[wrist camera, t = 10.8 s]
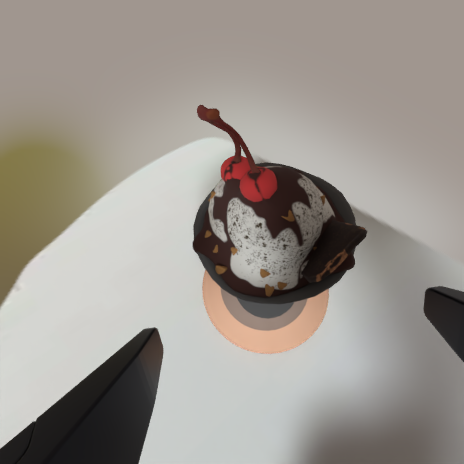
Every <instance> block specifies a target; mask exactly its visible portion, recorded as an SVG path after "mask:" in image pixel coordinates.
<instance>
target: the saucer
mask: <svg viewBox="0 0 464 464" xmlns="http://www.w3.org/2000/svg"><path fill="white" fill-rule="evenodd" d="M328 298H329V289H327V290H325V291H324V292H322V293H320V294H318V295H317V296H315V297H311V298H308V299H304V300H301V301H297V302H294V304H293V305H292V307H291V308H290V309H289V310H288V311H287V312H286V313H284V314H282V315H281V316H278V317H275V318H269V319H267V318H260V317H256V316H254V315H252V314H250V313H249V312H247V311H246V310H245V309H244V308H243V307H242V306H241V304H240V303H239V301H238V299H237V297H235V296H233V295H231V294H229V293H228V292H226V291H225V290H223V289H222V288H221V287H220V286H219V285H218V284H217V283H216V282H215V281H214V280H213V279H212V278H211V277H210V275H209V274H208V272H207V271H206V270H205V274H204V278H203V299H204V305H205V308H206V311H207V313H208V315H209V318H210V320H211V321H212V323H213V324H214V326H215V327H216V329H217V330H218V331H219V332H220V333H221V334H222V335H223V336H224V337H225V338H226V339H227V340H229V341H230V342H232V343H233V344H235V345H237V346H239V347H241V348H243V349H245V350H248V351H252V352H257V353H266V354H272V353H280V352H284V351H287V350H290V349H293V348H295V347H297V346H299V345H300V344H302V343H303V342H305V341H306V340H307V339H308V338H310V337H311V336H312V335H313V334H314V332H315V331H316V330H317V329H318V327H319V326H320V324H321V322H322V320H323V318H324V316H325V313H326V310H327V306H328Z"/></svg>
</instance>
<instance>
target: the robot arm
mask: <svg viewBox="0 0 464 464" xmlns="http://www.w3.org/2000/svg"><path fill="white" fill-rule="evenodd" d="M424 313H425V316H426V317H427V319H428V320H429V321H430V322H431V323H432V325H433V326H434V327H435V328H436V330H437V331H438V332H439V333H440V334H441V336H442V337H443V338H444V339H445V341H446V342H447V343H448V344H449V345H450V347H451V348H452V349H453V350H454V351H455V353H456V354H457V355H458V356H459V357H460V359H461V360H462V361H463V362H464V292H462V291H458V290H454V289H450V288H446V287H442V286H438V287H431V288H428V289H427V290H426V291H425V299H424ZM162 359H163V345H162V342H161V338H160V335H159V332H158V330H157V328H147V329H144V330H142V331H141V332H140V333H139V334H137V335H136V336H135V337H134V338H133V339H132V340H130V341H129V342H128V343H127V344H126V345H124V346H123V347H122V348H121V349H120V350H118V351H117V352H116V353H115V354H114V355H112V356H111V357H110V358H109V359H108V360H106V361H105V362H104V363H103V364H102V365H100V366H99V367H98V368H97V369H96V370H94V371H93V372H92V373H91V374H90V375H88V376H87V377H86V378H85V379H84V380H82V381H81V382H80V383H79V384H78V385H76V386H75V387H74V388H73V389H72V390H70V391H69V392H68V393H67V394H66V395H65V396H63V397H62V398H61V399H60V400H59V401H57V402H56V403H55V404H54V405H53V406H51V407H50V408H49V409H48V410H47V411H45V412H44V413H43V414H42V415H41V416H39V417H38V418H37V420H36V421H34V422H32V423H31V424H30V425H29V426H27V427H26V428H25V429H24V430H23V431H21V432H20V433H19V434H18V435H17V436H15V437H14V438H13V439H12V440H11V441H9V442H8V443H7V444H6V445H4V446H3V447H2V448H1V449H0V464H138V463H139V460H140V456H141V452H142V449H143V445H144V441H145V438H146V434H147V430H148V427H149V423H150V419H151V416H152V412H153V408H154V404H155V399H156V394H157V388H158V382H159V376H160V370H161V365H162Z"/></svg>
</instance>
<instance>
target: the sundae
mask: <svg viewBox="0 0 464 464" xmlns="http://www.w3.org/2000/svg"><path fill="white" fill-rule="evenodd" d="M197 113H198V116H199V118H200V119H201V120H204V121H207V122H209V123H210V124H212V125H214V126H216V127H218V128H220V129H222V130H224V131H226V132H227V133H228V134H229V135H230V137H231V138H232V140H233V142H234V144H235V156H232V157H230V158H228V159H227V160H225V161H224V163H223V164H222V166H221V177H222V179H221V180H220V182H219V183H218V184H217V185H216V187H215V188H214V189H213V190H212V191H211V193H210V194H209V195H208V196H207V197H206V199H205V200H204V202H203V203H202V204H201V206H200V208H199V210H198V212H197V215H196V219H195V222H194V241H193V249H194V251H195V252H196V253H197V254H198V256H199V258H200V260H201V262H202V264H203V266H204V268H205V269H206V271H207V272H208V274H209V275H210V277H211V278H212V279H213V280H214V281H215V282H216V283H217V284H218V285H219V286H220V287H221V288H222V289H223V290H225V291H226V292H228V293H229V294H231V295H233V296H235V297H237V299H238V301H239V303H240V304H241V306H242V307H243V308H244V309H245V310H246V311H247V312H249V313H250V314H252V315H254V316H256V317H260V318H267V319H269V318H275V317H278V316H281V315H282V314H284V313H286V312H287V311H288V310H289V309H290V308H291V307H292V305H293V304H294V302H297V301H301V300H304V299H308V298H311V297H315V296H317V295H318V294H320V293H322V292H324V291H325V290H327V289H329V288H330V287H332V286H333V285H334V284H335V283H337V282H338V281H339V280H340V279H341V278H342V276H343V275H344V274H345V272H346V271H347V270H349V269H351V268H353V267H354V265H355V259H354V256H353V254H354V251H355V247H356V246H357V245H358V244H359V243H360V242H361V241H362V240H363V239H364V238H365V237H366V234H367V231H366V229H365V228H363V227H360V226H356V224H355V217H354V214H353V212H352V210H351V207H350V205H349V203H348V202H347V200H346V199H345V197H344V196H343V194H342V193H341V192H340V191H339V190H337V189H336V188H335V187H334V186H332V185H331V184H329V183H328V182H326V181H324V180H323V179H321V178H319V177H316V176H314V175H311V174H309V173H306V172H304V171H301V170H299V169H296V168H293V167H290V166H286V165H282V164H275V163H260V164H255V162H254V160H253V158H252V156H251V154H250V152H249V150H248V148H247V146H246V144H245V143H244V141H243V139H242V138H241V136H240V135H239V134H238V133H237V132H236V131H235V130H234V129H233V128H232V127H231V126H230V125H228V124H226V123H225V122H224V121H223V120H222V119H221V118H220V116H219V111H218V110H217V109H207V108H206V107H204V106H203V105H199V106H198V108H197ZM240 145H241V147H242V149H243V151H244V153H245V155H246V157H247V158H246V157H243V156H241V147H240Z"/></svg>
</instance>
